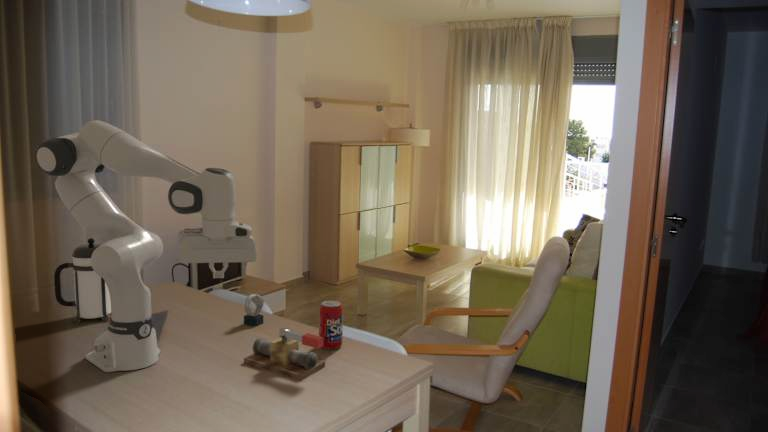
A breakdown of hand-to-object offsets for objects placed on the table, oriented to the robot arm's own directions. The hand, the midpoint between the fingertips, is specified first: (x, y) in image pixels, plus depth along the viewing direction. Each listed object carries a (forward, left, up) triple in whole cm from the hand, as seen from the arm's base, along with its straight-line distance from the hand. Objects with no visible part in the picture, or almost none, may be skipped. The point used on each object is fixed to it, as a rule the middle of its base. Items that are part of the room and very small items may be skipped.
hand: (218, 277), depth 158 cm
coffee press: (-78, +12, -31) cm, 85 cm away
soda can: (+10, +40, -31) cm, 51 cm away
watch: (-26, +42, -31) cm, 58 cm away
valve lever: (+13, +19, -22) cm, 32 cm away
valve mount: (+7, +20, -31) cm, 37 cm away
